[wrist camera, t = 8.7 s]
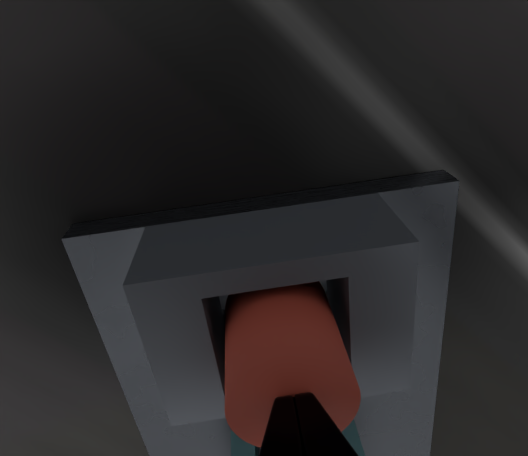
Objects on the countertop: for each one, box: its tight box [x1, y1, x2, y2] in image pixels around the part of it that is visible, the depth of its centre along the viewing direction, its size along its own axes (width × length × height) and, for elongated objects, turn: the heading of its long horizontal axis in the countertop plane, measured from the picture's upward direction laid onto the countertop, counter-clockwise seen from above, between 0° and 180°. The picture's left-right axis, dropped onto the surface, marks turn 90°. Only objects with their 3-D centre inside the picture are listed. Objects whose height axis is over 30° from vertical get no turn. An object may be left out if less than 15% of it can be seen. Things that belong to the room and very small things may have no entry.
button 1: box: [225, 281, 361, 448], centre depth 10 cm, size 3×3×3 cm
